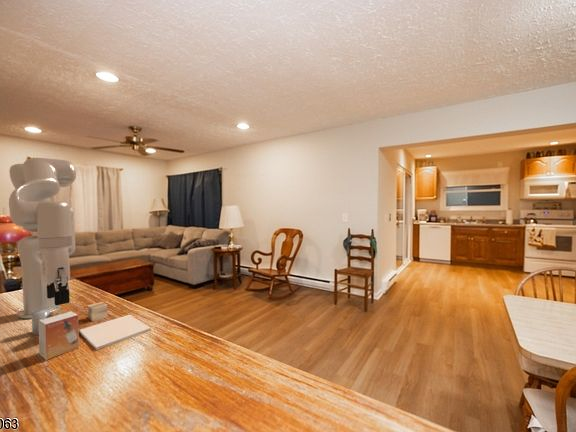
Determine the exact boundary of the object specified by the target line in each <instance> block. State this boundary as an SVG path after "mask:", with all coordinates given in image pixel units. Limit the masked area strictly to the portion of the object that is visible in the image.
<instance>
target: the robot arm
mask: <svg viewBox="0 0 576 432" xmlns="http://www.w3.org/2000/svg"><path fill="white" fill-rule="evenodd" d="M8 172H9V178H10V181H11V183H12V185H13V187H14V190H13V191H12V192H11V194H10V195H9V198H8V207H9V217H10V220H11V222H12V223H13V224H14V225H16V226H17V227H18V226H19V227H22V229H23V230H24V231H26V232H29V233H37V235H28V236H25V237H22V238H21V239H20V240H19V241H18V242H17V253H18V257H19V260H20V261H19V262H20V266H21V278H22V280H21V281H22V300H23V310H21V311H20V312H19V313H18V314H17V315H18V318H19V319H26V320H27V319H32V313H33V312H35V311H38V310H44V309H48V310H49V314H50V313H52V312H54V311H55V312H56V311H58V310H61V309H62V306H61V305H65V304H69V303H70V302H71V301H70V298H71V297H70V286H69V281H70V279H71V269H70V266H71V265H70V256H72V255H73V254H74V253H75V251H76V231H75V219H74V218H75V217H74V215H75V214H74V208H73V206H71V204H70V203H69V202H66V201H53V200H52V201H50V198H52V197H54V196H56V195H58V193H59V191H60V189H61V188H66V187H69V186H71V184H73V183H74V182H75V180H76V178H77V169H76V167H75V166H74V164H73V163H72V162H71V161H69V160H65V159H57V158H56V159H55V158H45V157H31V158H28V159H26V160H25V161H24V162H23V163H16V164H13V165H11V166H10V167H9V171H8Z"/></svg>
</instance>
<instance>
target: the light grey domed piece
mask: <svg viewBox="0 0 576 432" xmlns="http://www.w3.org/2000/svg"><path fill="white" fill-rule="evenodd" d="M48 315H49V310H48V309H44V310H38V311H35V312H33V313H32V318H31V328H32V329H31V330H32V335H33V336H34V335H35V336H39V324H38V321H39V320H41V319H46V317H47V316H48Z"/></svg>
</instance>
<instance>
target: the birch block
mask: <svg viewBox="0 0 576 432" xmlns="http://www.w3.org/2000/svg"><path fill="white" fill-rule="evenodd" d="M108 315H109V312H108V304H107V303H105V302H104V301H100V302H97V303H93V304H92V303H91V304H88V305H87V317H88V319H89V320H90V321H91V322H96V321H98V320H103V319H105V318H106V319H107V318H108Z"/></svg>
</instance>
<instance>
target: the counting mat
mask: <svg viewBox="0 0 576 432" xmlns="http://www.w3.org/2000/svg"><path fill="white" fill-rule="evenodd" d="M148 330H150V331H151V330H152V327H150V326H148V325H147V324H145V322H143V321H141V320H139V319H138V318H136V317H135V316H133V315H132V314H128V315H127V314H126V315H124V316H120V317H117V318H114V319H111V320H107V321H103V322H100V323H97V324H94V325H91V326H88V327H87V326H86V327H84V328H81V329H79V334H80V335H81V336H82V337H83V338H84V339H85V340H86V341H87V342H88V343H89V344H90V345H91V346H92V347H93V348H94V349H95V350H96V351H98V350H101V349H103V348H106V347H108V346H112V345H115V344H117V343H119V342H122V341H125V340H127V339H128V340H129V339H131V338H133V337H136V336H138V335H141V333H142V334H144V333H147V332H149V331H148ZM146 331H147V332H146ZM143 332H144V333H143Z"/></svg>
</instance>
